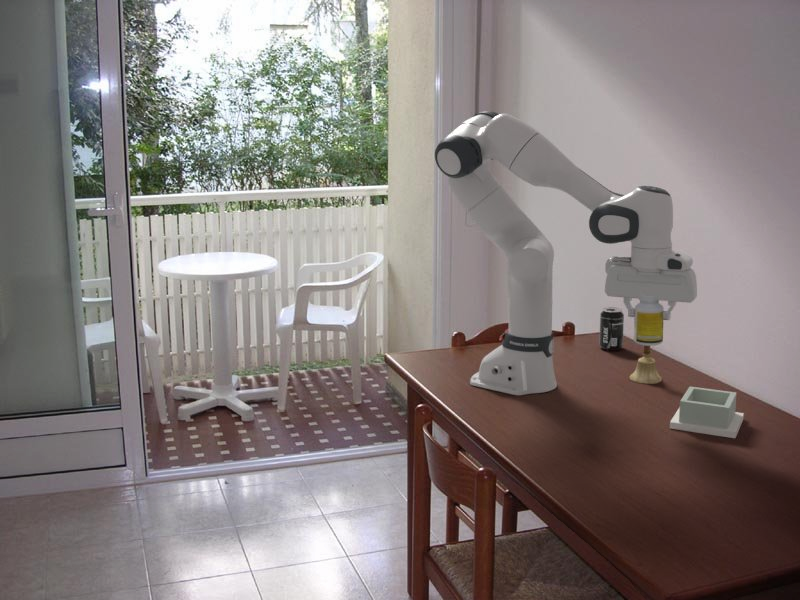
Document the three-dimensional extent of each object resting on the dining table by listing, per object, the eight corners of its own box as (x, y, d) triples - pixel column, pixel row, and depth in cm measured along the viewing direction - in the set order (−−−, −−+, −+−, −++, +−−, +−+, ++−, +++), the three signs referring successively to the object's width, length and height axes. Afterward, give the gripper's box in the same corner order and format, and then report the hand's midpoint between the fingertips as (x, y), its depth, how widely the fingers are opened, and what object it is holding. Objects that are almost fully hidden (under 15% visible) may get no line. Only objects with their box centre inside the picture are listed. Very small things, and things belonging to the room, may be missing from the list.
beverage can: (597, 345, 266) (599, 306, 263) (620, 345, 265) (622, 306, 262) (600, 351, 259) (601, 311, 256) (624, 351, 258) (625, 312, 256)
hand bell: (660, 385, 228) (663, 325, 224) (627, 382, 231) (630, 323, 227) (663, 376, 235) (666, 318, 232) (631, 373, 238) (634, 316, 235)
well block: (669, 428, 198) (671, 400, 197) (681, 410, 209) (682, 384, 208) (735, 438, 192) (737, 410, 190) (743, 419, 203) (745, 392, 202)
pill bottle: (663, 346, 199) (665, 297, 197) (634, 346, 201) (635, 296, 198) (661, 339, 206) (663, 290, 203) (632, 338, 207) (634, 290, 204)
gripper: (601, 258, 201) (600, 316, 204) (694, 263, 191) (691, 325, 194) (609, 253, 206) (608, 311, 209) (700, 258, 197) (697, 318, 200)
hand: (649, 318), depth 202 cm, fingers closed on pill bottle, 6 cm apart
